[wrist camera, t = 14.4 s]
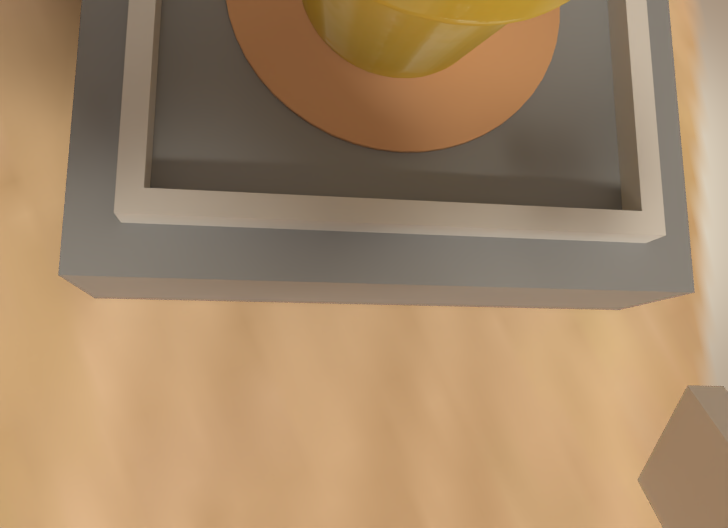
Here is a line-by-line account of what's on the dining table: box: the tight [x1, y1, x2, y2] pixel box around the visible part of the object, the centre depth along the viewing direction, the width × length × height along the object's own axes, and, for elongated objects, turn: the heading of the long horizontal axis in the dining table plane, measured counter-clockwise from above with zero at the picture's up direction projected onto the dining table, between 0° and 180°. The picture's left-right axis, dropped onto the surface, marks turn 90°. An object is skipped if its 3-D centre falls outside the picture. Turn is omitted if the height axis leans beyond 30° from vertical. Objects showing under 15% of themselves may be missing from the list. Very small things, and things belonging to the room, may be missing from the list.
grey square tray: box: [58, 0, 695, 310], centre depth 26 cm, size 21×21×6 cm
